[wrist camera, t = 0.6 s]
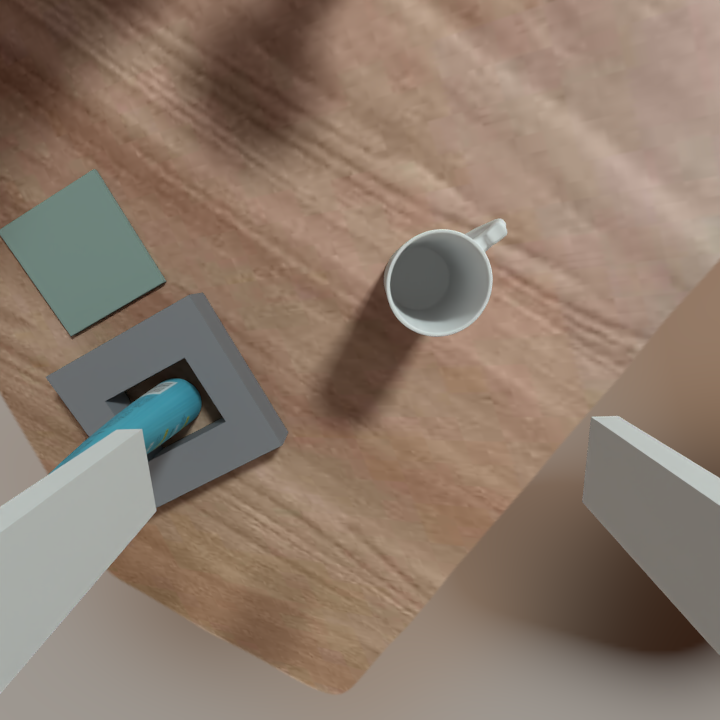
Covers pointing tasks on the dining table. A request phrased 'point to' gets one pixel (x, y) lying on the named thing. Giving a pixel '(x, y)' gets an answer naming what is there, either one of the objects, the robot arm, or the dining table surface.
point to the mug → (442, 278)
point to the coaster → (82, 253)
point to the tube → (152, 415)
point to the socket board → (213, 369)
